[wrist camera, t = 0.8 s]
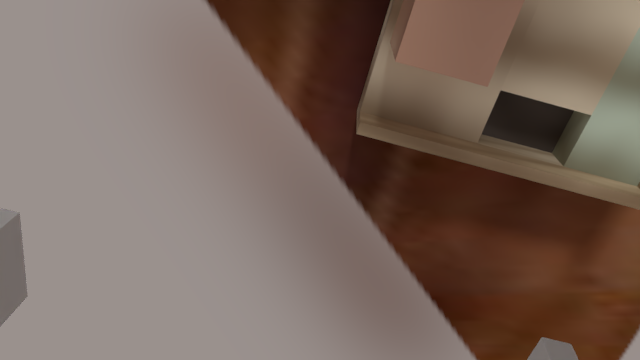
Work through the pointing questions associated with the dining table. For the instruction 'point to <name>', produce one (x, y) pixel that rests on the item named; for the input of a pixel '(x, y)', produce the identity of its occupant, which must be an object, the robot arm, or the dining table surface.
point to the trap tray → (527, 101)
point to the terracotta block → (454, 36)
